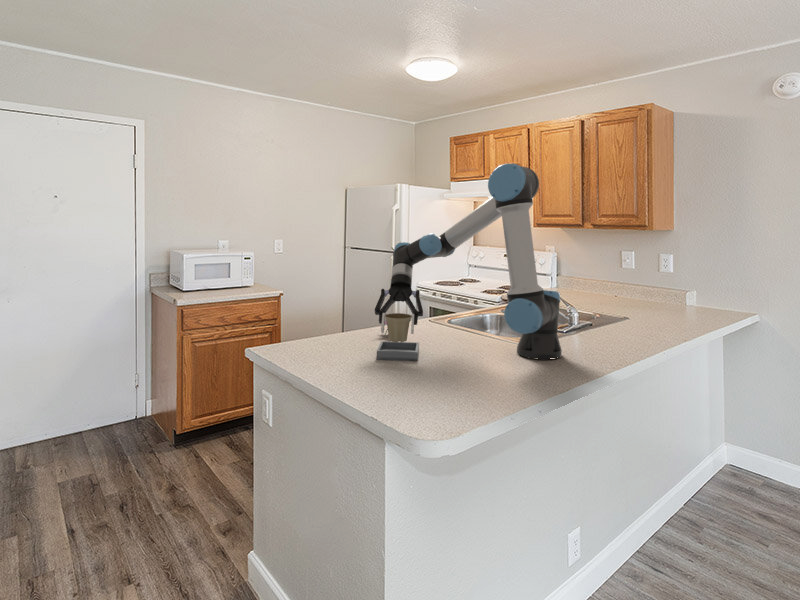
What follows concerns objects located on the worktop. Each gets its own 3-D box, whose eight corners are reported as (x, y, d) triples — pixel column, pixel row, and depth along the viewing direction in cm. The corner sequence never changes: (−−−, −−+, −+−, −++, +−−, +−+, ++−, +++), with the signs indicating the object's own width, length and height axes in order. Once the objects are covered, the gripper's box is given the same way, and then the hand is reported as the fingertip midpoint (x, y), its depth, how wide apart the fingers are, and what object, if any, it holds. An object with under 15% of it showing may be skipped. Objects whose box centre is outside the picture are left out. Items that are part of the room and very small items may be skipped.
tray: (418, 350, 180) (419, 342, 179) (417, 361, 166) (417, 352, 166) (381, 349, 180) (381, 341, 180) (376, 359, 167) (376, 350, 167)
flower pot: (408, 344, 167) (409, 319, 166) (381, 342, 169) (381, 317, 168) (413, 338, 176) (414, 314, 175) (387, 336, 178) (387, 312, 177)
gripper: (431, 286, 184) (430, 338, 171) (372, 284, 186) (365, 336, 173) (432, 273, 178) (430, 326, 165) (370, 271, 180) (363, 324, 167)
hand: (397, 331), depth 169 cm, fingers closed on flower pot, 9 cm apart
